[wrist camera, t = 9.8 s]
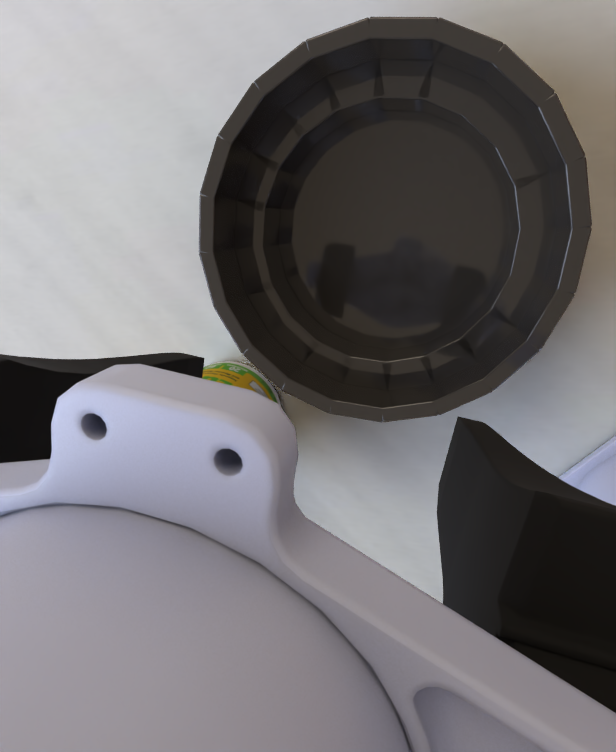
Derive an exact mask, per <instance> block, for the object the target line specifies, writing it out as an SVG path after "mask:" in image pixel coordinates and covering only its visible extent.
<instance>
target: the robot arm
mask: <svg viewBox="0 0 616 752" xmlns="http://www.w3.org/2000/svg"><path fill="white" fill-rule="evenodd" d="M203 366H204V358H201V357H197V356H193V355H188V354H183V353H158V354H148V355H138V356H128V357H115V358H102V359H45V358H31V357H18V356H9V355H2V354H0V752H616V435H615V436H614V437H613V438H611V439H610V440H609V441H607V442H606V443H605V444H603V445H602V446H601V447H599V448H598V449H596V450H595V451H594V452H592V453H591V454H590V455H588V456H587V457H586V458H584V459H583V460H581V461H580V462H579V463H577V464H576V465H575V466H573V467H572V468H571V469H569V470H568V471H567V472H565V473H564V474H562V475H561V476H560V477H558V478H557V477H556V476H554V475H552V474H551V473H549V472H547V471H546V470H544V469H543V468H541V467H540V466H538V465H537V464H536V463H534V462H533V461H531V460H530V459H529V458H527V457H526V456H525V455H523V454H522V453H521V452H520V451H518V450H517V449H516V448H515V447H513V446H512V445H511V444H510V443H508V442H507V441H506V440H505V439H504V438H503V437H501V436H500V435H499V434H498V433H497V432H495V431H494V430H493V429H492V428H490V427H489V426H488V425H486V424H485V423H483V422H479V421H475V420H470V419H466V418H462V417H458V418H457V422H456V425H455V429H454V433H453V436H452V440H451V443H450V447H449V450H448V454H447V457H446V461H445V465H444V468H443V472H442V475H441V479H440V482H439V491H438V505H437V519H438V531H439V542H440V553H441V563H442V574H443V604H442V603H440V602H439V601H437V600H436V599H434V598H433V597H431V596H429V595H428V594H426V593H425V592H423V591H421V590H420V589H418V588H417V587H415V586H414V585H412V584H410V583H409V582H407V581H406V580H404V579H402V578H401V577H399V576H398V575H396V574H395V573H393V572H391V571H390V570H388V569H387V568H385V567H383V566H382V565H380V564H379V563H377V562H376V561H374V560H372V559H371V558H369V557H368V556H366V555H365V554H363V553H361V552H360V551H358V550H357V549H355V548H353V547H352V546H350V545H349V544H347V543H346V542H344V541H342V540H341V539H339V538H338V537H336V536H334V535H333V534H331V533H330V532H328V531H327V530H325V529H323V528H322V527H320V526H319V525H317V524H316V523H314V522H312V521H311V520H309V519H308V518H306V517H305V516H304V514H303V513H302V512H301V510H300V509H299V507H298V506H297V504H296V502H295V498H294V494H293V491H294V477H295V471H296V465H297V459H298V447H297V438H296V430H295V426H294V425H293V424H292V422H291V421H290V419H289V418H288V417H287V415H286V414H285V412H284V411H283V410H282V408H281V407H280V405H279V404H278V403H276V402H274V401H272V400H270V399H268V398H266V397H264V396H262V395H260V394H258V393H256V392H254V391H252V390H248V389H244V388H240V387H236V386H231V385H227V384H223V383H219V382H215V381H210V380H206V379H202V377H203Z"/></svg>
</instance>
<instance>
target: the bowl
mask: <svg viewBox="0 0 616 752" xmlns="http://www.w3.org/2000/svg"><path fill="white" fill-rule="evenodd" d="M200 194H201V195H200V217H199V252H200V254H199V255H200V259H201V262H202V266H203V270H204V273H205V277H206V281H207V284H208V288H209V292H210V295H211V299H212V303H213V306H214V309H215V310H216V312H217V314H218V315H219V317H220V319H221V320H222V322H223V323H224V325H225V327H226V328H227V330H228V332H229V333H230V335H231V337H232V338H233V340H234V342H235V343H236V345H237V347H238V348H239V350H240V351H241V353H243V355H244V356H245V357H246V358H247V359H248V360H249V361H251V362H252V363H253V364H254V365H255V366H256V367H257V368H258V369H259V370H260V371H261V372H262V373H264V374H265V375H266V376H267V377H268V378H269V379H270V380H271V381H272V382H273V383H274V384H276V385H277V386H278V387H279V388H280V389H282V391H284V392H286V393H288V394H290V395H292V396H294V397H296V398H299V399H301V400H303V401H305V402H307V403H309V404H311V405H313V406H315V407H317V408H319V409H321V410H323V411H325V412H327V413H330V414H336V415H341V416H347V417H353V418H359V419H365V420H371V421H377V422H389V421H397V420H405V419H413V418H421V417H429V416H437V415H438V414H439V415H441V414H443V413H445V412H448V411H450V410H452V409H454V408H457V407H459V406H461V405H464V404H466V403H468V402H470V401H473V400H475V399H477V398H479V397H482V396H484V395H486V394H488V393H491V392H492V390H495V389H496V388H497V387H499V386H500V385H501V384H502V383H503V382H504V381H505V380H507V379H508V378H509V377H510V376H511V375H512V374H514V373H515V372H516V371H517V370H518V369H519V368H521V367H522V366H523V365H524V364H525V363H526V362H527V361H529V360H530V359H531V358H532V357H533V356H534V355H536V354H537V353H538V352H539V349H541V348H542V347H543V345H544V344H545V342H546V341H547V339H548V337H549V336H550V334H551V333H552V331H553V329H554V328H555V326H556V325H557V323H558V321H559V320H560V318H561V317H562V315H563V313H564V312H565V310H566V308H567V307H568V305H569V304H570V302H571V300H572V299H573V297H574V293H575V292H576V290H577V286H578V282H579V278H580V274H581V270H582V266H583V262H584V258H585V254H586V250H587V245H588V241H589V237H590V233H591V226H592V220H591V209H590V198H589V186H588V175H587V164H586V158H585V154H584V151H583V149H582V147H581V145H580V143H579V141H578V139H577V137H576V134H575V132H574V130H573V128H572V126H571V124H570V122H569V120H568V118H567V115H566V113H565V111H564V109H563V107H562V105H561V103H560V101H559V98H558V96H557V94H556V93H554V90H553V89H552V88H551V87H550V86H549V85H548V84H547V83H546V82H545V81H543V80H542V79H541V78H540V77H539V76H538V75H537V74H536V73H535V72H534V71H533V70H532V69H531V68H530V67H529V66H528V65H527V64H526V63H525V62H523V61H522V60H521V59H520V58H519V57H518V56H517V55H516V54H515V53H514V52H513V51H512V50H511V49H510V48H509V47H508V46H507V45H505V44H503V43H502V42H500V41H498V40H495V39H493V38H490V37H488V36H485V35H483V34H480V33H478V32H475V31H473V30H470V29H468V28H465V27H463V26H460V25H458V24H455V23H453V22H450V21H448V20H445V19H443V18H437V17H370V19H369V18H365V19H362V20H359V21H357V22H354V23H351V24H348V25H346V26H343V27H340V28H337V29H335V30H332V31H329V32H326V33H324V34H321V35H318V36H315V37H313V38H310V39H307V40H306V42H305V41H304V42H302V43H301V44H300V45H299V46H297V47H296V48H295V49H294V50H292V51H291V52H290V53H289V54H287V55H286V56H285V57H284V58H282V59H281V60H280V61H279V62H277V63H276V64H275V65H274V66H273V67H271V68H270V69H269V70H268V71H266V72H265V73H264V74H263V75H261V76H260V77H259V78H258V79H256V80H255V81H254V83H252V84H251V86H250V87H249V89H248V90H247V92H246V93H245V95H244V96H243V98H242V99H241V101H240V102H239V104H238V105H237V107H236V109H235V110H234V112H233V113H232V115H231V116H230V118H229V119H228V121H227V122H226V124H225V125H224V127H223V128H222V130H221V131H220V133H219V134H218V136H217V139H216V142H215V145H214V149H213V152H212V155H211V158H210V162H209V165H208V168H207V172H206V175H205V178H204V182H203V185H202V188H201V191H200Z"/></svg>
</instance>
